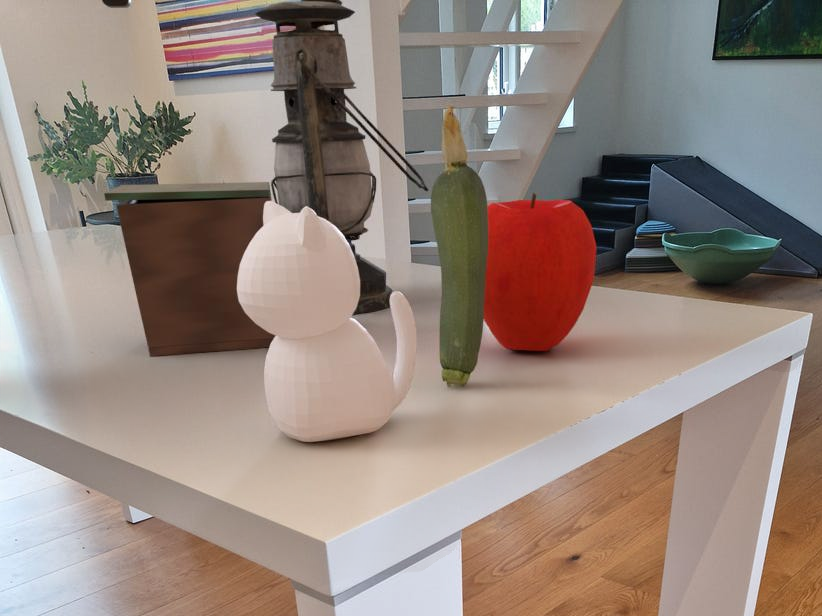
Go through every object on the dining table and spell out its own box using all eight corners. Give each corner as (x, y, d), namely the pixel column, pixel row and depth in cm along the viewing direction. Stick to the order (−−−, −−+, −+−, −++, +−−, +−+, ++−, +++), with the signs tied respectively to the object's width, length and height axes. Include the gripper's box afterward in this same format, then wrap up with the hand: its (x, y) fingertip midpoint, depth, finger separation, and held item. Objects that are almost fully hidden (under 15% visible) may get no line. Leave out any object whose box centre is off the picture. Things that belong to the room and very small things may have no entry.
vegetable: (457, 376, 75) (446, 105, 65) (501, 381, 73) (497, 104, 63) (430, 389, 72) (413, 106, 61) (475, 395, 70) (466, 104, 60)
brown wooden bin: (149, 356, 85) (115, 205, 78) (161, 333, 94) (131, 195, 87) (290, 345, 87) (269, 197, 80) (288, 324, 96) (270, 189, 89)
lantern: (289, 291, 113) (250, 8, 97) (434, 286, 113) (420, 3, 98) (264, 322, 97) (213, -12, 81) (433, 315, 97) (415, -18, 82)
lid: (105, 200, 77) (103, 193, 77) (122, 191, 86) (121, 184, 86) (269, 196, 80) (268, 189, 80) (269, 188, 89) (269, 182, 88)
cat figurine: (241, 430, 64) (200, 204, 56) (388, 398, 70) (371, 190, 62) (290, 463, 58) (253, 214, 50) (448, 425, 63) (437, 197, 56)
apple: (477, 370, 77) (472, 201, 70) (459, 340, 86) (453, 190, 79) (606, 361, 78) (614, 195, 71) (574, 333, 88) (578, 185, 81)
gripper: (29, -246, 71) (85, 14, 80) (-16, -313, 60) (55, -2, 69) (125, -243, 72) (170, 13, 81) (98, -308, 61) (154, -3, 70)
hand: (117, 6), depth 75 cm, fingers closed
